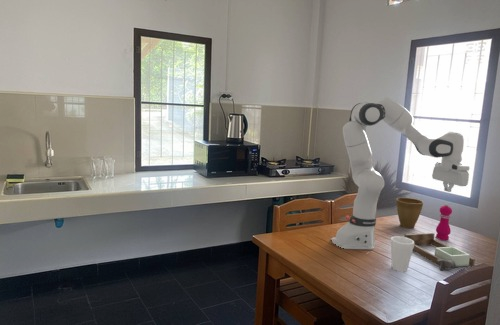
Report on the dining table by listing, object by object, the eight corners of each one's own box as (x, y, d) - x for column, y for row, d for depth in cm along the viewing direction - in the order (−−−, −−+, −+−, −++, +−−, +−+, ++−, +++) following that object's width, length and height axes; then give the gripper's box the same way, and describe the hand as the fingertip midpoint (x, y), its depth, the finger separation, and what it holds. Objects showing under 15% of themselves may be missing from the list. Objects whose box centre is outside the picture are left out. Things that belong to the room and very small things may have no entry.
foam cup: (392, 262, 170) (395, 234, 169) (413, 268, 165) (416, 240, 163) (385, 268, 163) (388, 240, 161) (407, 275, 157) (410, 245, 155)
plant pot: (422, 225, 228) (425, 200, 226) (418, 232, 216) (421, 205, 213) (396, 220, 236) (399, 196, 234) (391, 226, 223) (394, 200, 221)
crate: (450, 267, 167) (451, 256, 166) (434, 258, 177) (435, 247, 176) (468, 265, 170) (470, 254, 169) (451, 256, 179) (453, 246, 179)
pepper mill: (446, 236, 210) (450, 202, 207) (451, 241, 202) (456, 205, 199) (432, 235, 210) (437, 201, 207) (437, 240, 203) (442, 204, 200)
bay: (439, 272, 162) (440, 259, 161) (394, 245, 191) (396, 234, 190) (480, 268, 168) (482, 256, 167) (431, 243, 197) (432, 232, 196)
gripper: (430, 161, 197) (427, 186, 199) (461, 167, 177) (457, 196, 179) (440, 161, 199) (437, 186, 201) (472, 167, 179) (468, 195, 181)
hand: (447, 191), depth 190 cm, fingers closed
